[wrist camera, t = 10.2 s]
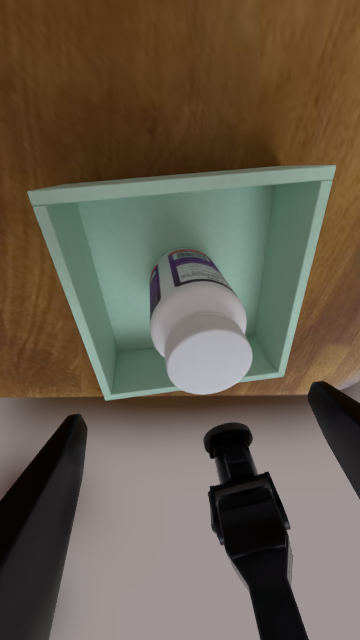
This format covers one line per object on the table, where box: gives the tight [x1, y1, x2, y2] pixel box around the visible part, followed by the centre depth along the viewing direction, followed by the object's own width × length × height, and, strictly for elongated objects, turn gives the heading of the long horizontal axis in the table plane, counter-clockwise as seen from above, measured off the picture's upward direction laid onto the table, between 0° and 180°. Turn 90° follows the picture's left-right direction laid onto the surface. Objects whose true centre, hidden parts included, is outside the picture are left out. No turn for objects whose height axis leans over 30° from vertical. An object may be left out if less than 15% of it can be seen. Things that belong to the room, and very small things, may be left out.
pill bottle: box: [149, 248, 252, 394], centre depth 15 cm, size 5×5×10 cm
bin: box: [27, 165, 336, 400], centre depth 17 cm, size 14×14×6 cm
